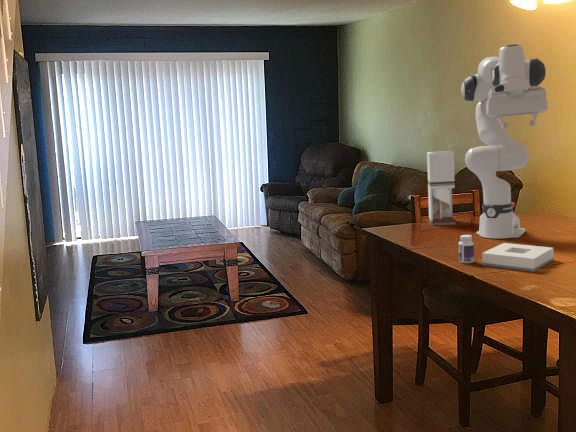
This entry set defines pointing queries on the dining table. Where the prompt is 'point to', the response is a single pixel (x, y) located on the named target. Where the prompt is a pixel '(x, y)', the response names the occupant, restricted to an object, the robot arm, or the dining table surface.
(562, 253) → the dining table surface
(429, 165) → the white dispenser
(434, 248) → the dining table surface
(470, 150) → the robot arm
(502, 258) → the socket holder
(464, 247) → the pill bottle
